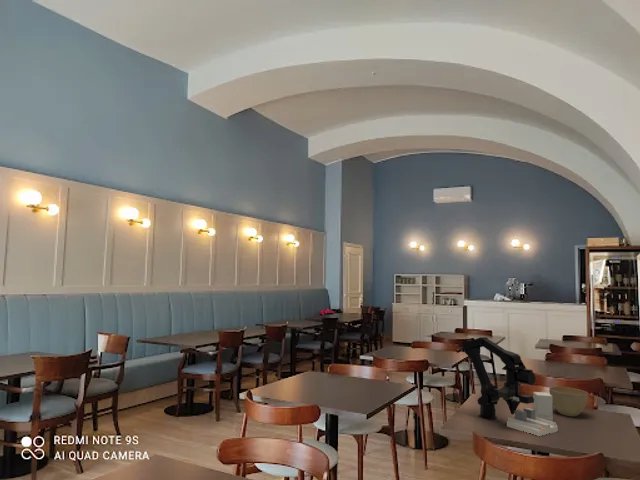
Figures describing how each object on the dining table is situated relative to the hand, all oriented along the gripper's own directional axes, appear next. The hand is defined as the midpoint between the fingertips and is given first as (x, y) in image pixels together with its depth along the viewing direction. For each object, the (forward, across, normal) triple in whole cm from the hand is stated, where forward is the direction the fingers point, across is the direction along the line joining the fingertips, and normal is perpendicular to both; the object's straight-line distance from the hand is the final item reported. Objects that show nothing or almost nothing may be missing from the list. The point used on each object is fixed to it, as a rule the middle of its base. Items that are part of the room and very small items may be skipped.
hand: (512, 414), depth 224 cm
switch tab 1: (+2, +4, 0) cm, 5 cm away
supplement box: (+5, +2, +22) cm, 23 cm away
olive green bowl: (+5, +3, +44) cm, 45 cm away
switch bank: (+5, +8, +4) cm, 10 cm away
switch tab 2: (+2, +4, +7) cm, 8 cm away
